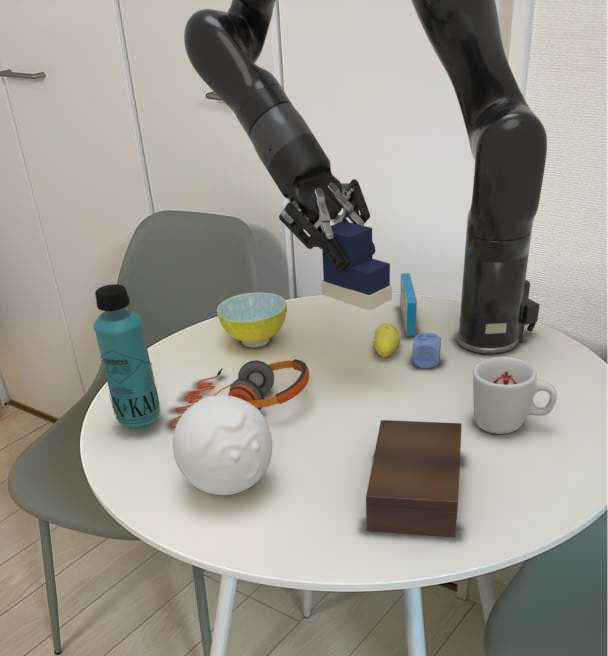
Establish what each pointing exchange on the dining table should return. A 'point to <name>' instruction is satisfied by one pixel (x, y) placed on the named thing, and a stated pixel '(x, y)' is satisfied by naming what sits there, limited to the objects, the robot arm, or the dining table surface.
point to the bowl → (252, 317)
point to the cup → (507, 394)
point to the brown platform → (415, 478)
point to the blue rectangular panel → (408, 305)
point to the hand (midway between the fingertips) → (358, 261)
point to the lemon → (386, 339)
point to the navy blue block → (357, 270)
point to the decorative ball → (222, 445)
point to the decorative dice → (426, 350)
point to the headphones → (257, 384)
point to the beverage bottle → (125, 358)
